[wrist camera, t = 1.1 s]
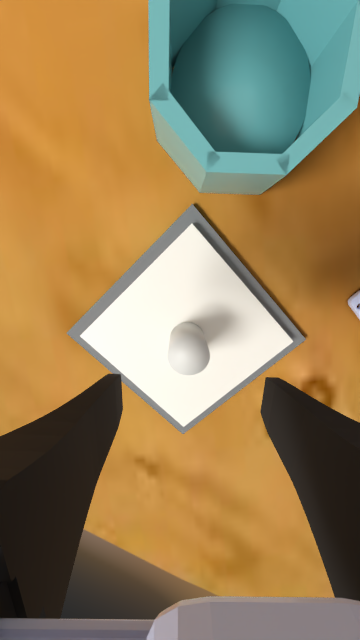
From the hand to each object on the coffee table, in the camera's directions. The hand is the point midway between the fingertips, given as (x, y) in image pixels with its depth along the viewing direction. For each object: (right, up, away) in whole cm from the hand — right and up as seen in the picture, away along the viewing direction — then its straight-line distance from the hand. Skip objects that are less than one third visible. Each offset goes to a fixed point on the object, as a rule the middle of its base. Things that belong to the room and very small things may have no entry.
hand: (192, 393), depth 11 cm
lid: (0, +2, +9) cm, 9 cm away
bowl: (+3, +19, +4) cm, 19 cm away
